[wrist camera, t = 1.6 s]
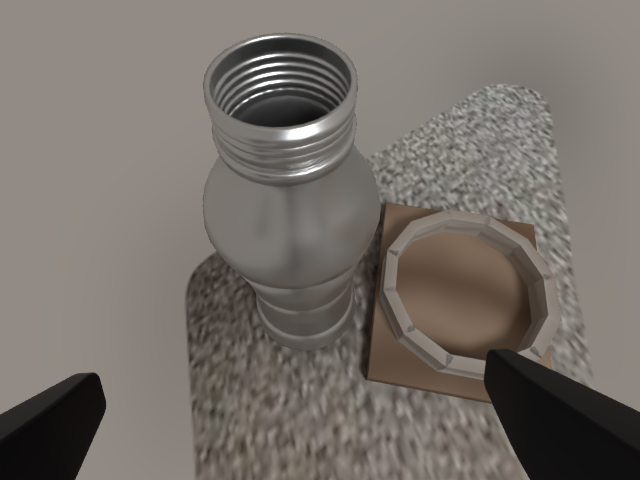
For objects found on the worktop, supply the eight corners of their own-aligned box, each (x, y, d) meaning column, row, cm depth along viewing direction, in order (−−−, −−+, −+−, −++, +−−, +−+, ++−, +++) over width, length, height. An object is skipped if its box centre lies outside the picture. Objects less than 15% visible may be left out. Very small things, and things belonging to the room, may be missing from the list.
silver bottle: (359, 349, 25) (463, 168, 7) (264, 363, 24) (117, 206, 6) (344, 267, 28) (389, -8, 10) (259, 278, 27) (148, 10, 9)
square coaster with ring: (546, 414, 23) (578, 413, 20) (365, 379, 24) (372, 374, 21) (525, 231, 29) (547, 211, 26) (384, 210, 30) (390, 188, 27)
